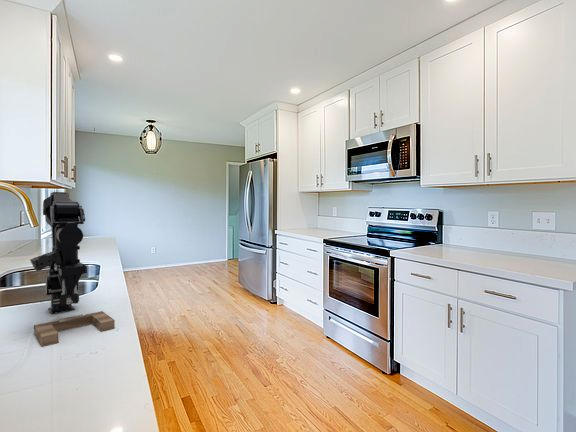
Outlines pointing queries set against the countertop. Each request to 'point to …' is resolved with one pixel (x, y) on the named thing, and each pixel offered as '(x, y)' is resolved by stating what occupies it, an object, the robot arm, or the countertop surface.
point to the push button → (68, 299)
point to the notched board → (71, 326)
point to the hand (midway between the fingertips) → (67, 293)
